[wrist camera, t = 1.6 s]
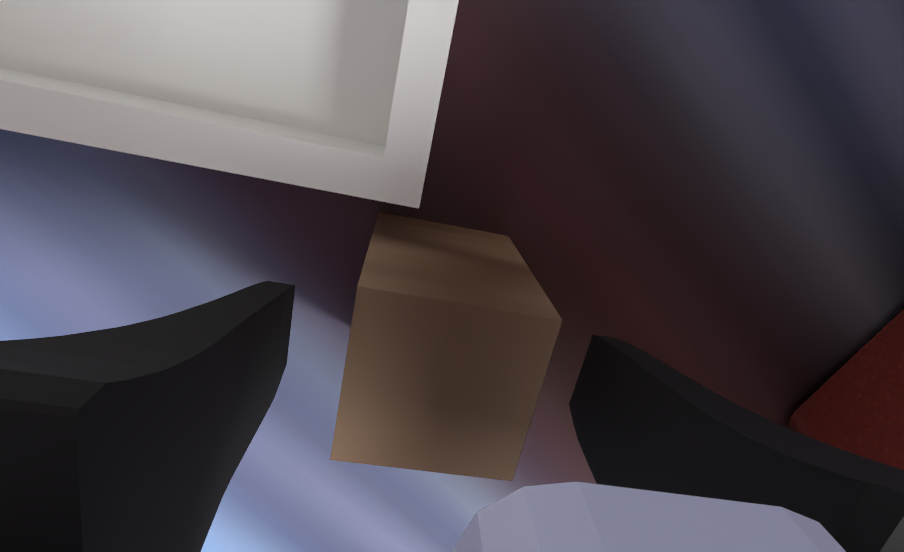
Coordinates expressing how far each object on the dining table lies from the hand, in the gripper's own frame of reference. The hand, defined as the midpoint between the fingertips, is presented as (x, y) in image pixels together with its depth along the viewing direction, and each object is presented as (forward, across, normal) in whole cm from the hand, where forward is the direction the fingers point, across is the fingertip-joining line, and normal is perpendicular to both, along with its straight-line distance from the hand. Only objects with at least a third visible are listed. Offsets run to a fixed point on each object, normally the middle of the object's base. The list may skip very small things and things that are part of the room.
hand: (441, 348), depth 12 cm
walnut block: (+4, 0, 0) cm, 4 cm away
